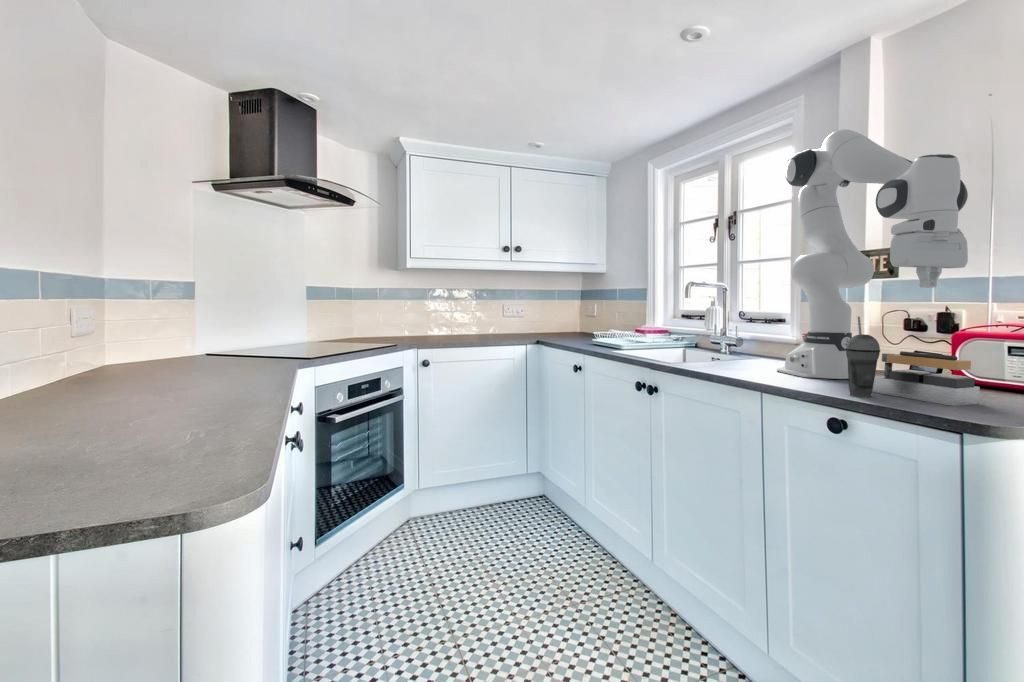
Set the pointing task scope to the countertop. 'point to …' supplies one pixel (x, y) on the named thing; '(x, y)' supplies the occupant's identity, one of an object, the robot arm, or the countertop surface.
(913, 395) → the stacked block stand
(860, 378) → the beverage cup
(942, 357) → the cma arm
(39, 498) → the countertop surface
